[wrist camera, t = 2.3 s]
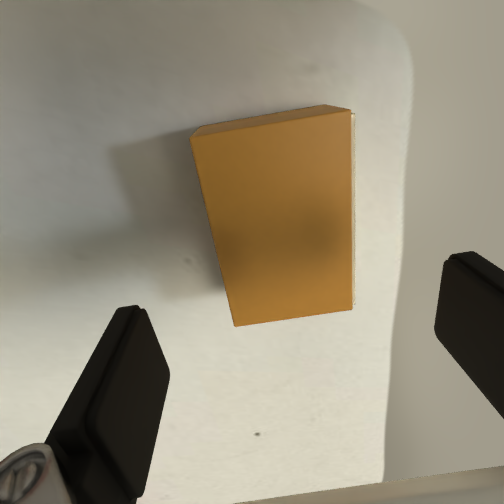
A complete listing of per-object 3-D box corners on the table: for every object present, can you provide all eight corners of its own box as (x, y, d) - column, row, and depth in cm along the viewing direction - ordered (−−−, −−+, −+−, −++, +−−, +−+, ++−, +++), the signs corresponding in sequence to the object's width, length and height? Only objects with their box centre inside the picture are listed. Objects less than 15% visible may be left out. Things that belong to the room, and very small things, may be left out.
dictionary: (199, 126, 16) (188, 137, 12) (330, 103, 16) (357, 108, 12) (235, 286, 21) (234, 327, 17) (336, 271, 20) (356, 309, 17)
